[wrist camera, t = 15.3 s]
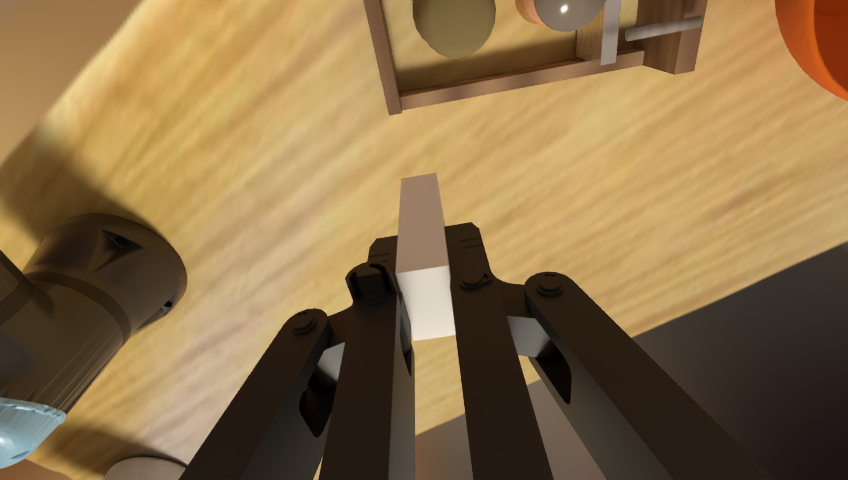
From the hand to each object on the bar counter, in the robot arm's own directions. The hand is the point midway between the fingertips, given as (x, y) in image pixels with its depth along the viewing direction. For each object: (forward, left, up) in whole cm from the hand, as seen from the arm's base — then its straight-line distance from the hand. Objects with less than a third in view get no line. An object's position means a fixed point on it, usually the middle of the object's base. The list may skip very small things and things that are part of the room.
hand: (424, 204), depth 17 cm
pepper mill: (+4, +6, -25) cm, 26 cm away
